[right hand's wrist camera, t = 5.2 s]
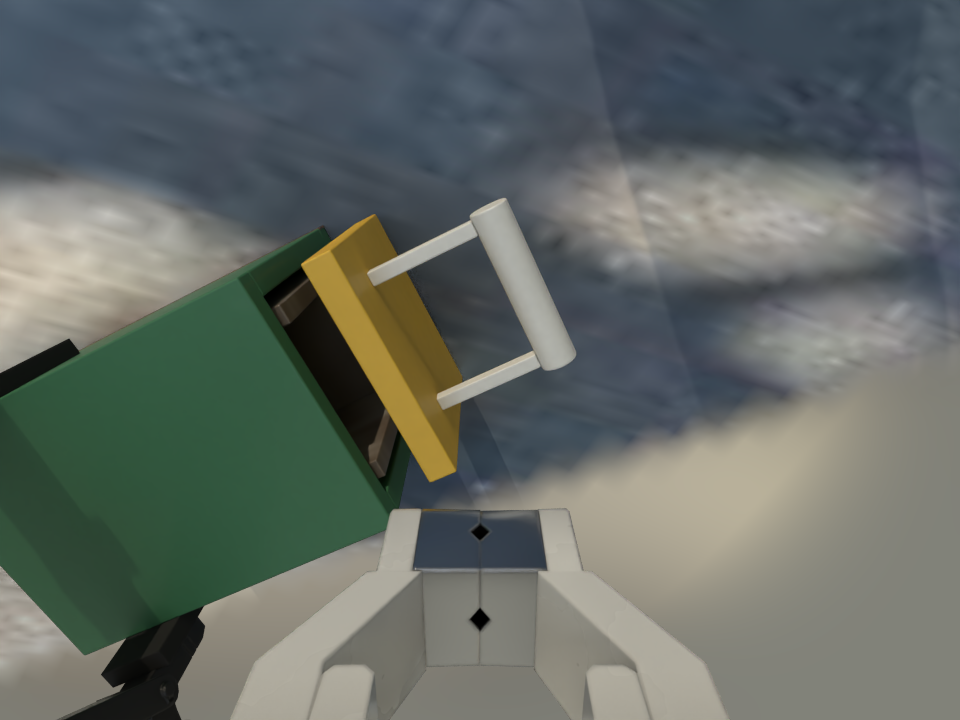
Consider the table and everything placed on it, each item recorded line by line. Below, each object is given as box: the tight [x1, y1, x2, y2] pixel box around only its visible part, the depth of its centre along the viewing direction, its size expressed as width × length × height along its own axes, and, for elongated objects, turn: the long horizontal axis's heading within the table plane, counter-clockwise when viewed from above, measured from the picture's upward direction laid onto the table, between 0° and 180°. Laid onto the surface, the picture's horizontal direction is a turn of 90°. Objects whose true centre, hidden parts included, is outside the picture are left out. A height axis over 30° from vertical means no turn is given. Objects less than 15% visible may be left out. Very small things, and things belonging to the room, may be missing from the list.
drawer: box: [263, 198, 576, 482], centre depth 27 cm, size 20×10×10 cm, turn 116°
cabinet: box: [0, 226, 411, 655], centre depth 28 cm, size 15×11×12 cm
